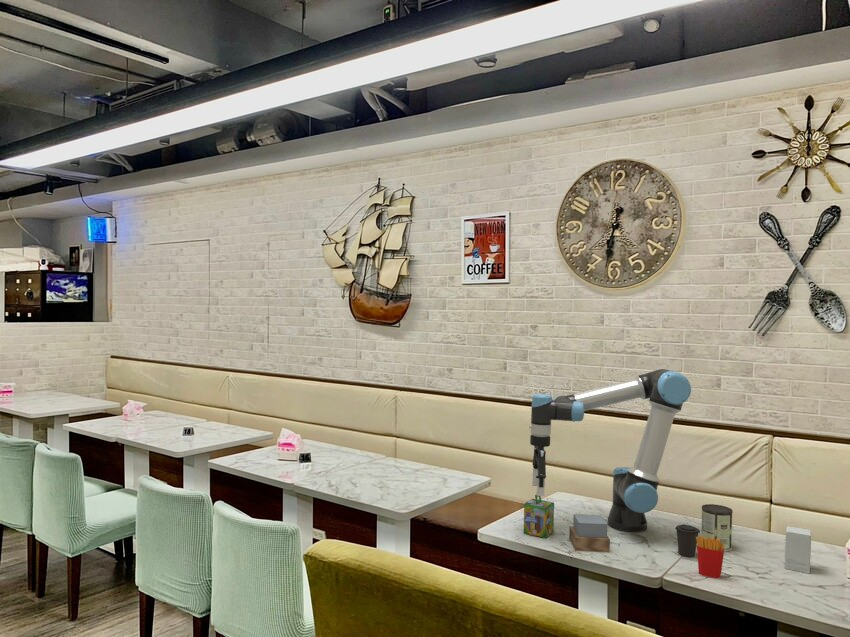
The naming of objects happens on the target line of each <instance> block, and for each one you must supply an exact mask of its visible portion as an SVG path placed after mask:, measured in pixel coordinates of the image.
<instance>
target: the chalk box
mask: <svg viewBox="0 0 850 637" xmlns="http://www.w3.org/2000/svg"><path fill="white" fill-rule="evenodd" d="M534 496H535V498H531V499H530V500H528V501H526V502H525V503H524V504H523V534H524V535H528V536H529V535H530V536H534V537H540V538H545V539H547V538H548V537H549V536H550V535H552V534H553V533H555V532H554V528H555V527H554V525H555V523H554V522H555V502H552V501H547V500H544V499H542V496H537V493H536V494H535V495H534Z"/></svg>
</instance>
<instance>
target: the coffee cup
mask: <svg viewBox="0 0 850 637" xmlns="http://www.w3.org/2000/svg"><path fill="white" fill-rule="evenodd" d="M674 529H675V530H676V540H677V550H678V551H677V552H678V555H679V556H680V557H683V558H687V559H693V558H695V557H696V554H697V540H696V537H698V538H699V533H701V530H700V529H699V528H698V527H695V526H694V525H693V526H692V525H689V524H685V523H684V524H678V525H676V527H675V528H674Z"/></svg>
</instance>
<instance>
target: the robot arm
mask: <svg viewBox="0 0 850 637" xmlns="http://www.w3.org/2000/svg"><path fill="white" fill-rule="evenodd" d="M691 392H692V386H691V383H690V381H689V380H688V378H687V377H686V376H685V375H683V374H682V373H680V372H678V371H674V370H670V369H667V368H666V369H665V368H662V369H661V368H660V369H655V370H653V371H650V372H646V373H643V374H639V375H636V376H635V378H633V379H630V380H626V381H621V382H618V383H613V384H610V385H605V386H601V387H597V388H593V389H592V388H591V389H590V390H584V391H581V392H576V393H573V394H567V395H557V396H556V397H555V398H554V399H553V396H552V395H551V394H548V393H547V394H545V393H537V394H533V396H532V399H531V400H532V401H531V409H530V410H531V415H530V416H531V418H530V425H529V429H530V434H531V435H530V436H529V437H530V438H529V443H530V445H531V446H533V447H534V450H533V458H532V487H536V494H537V496H541V497H544V496H545V485H546V478H547V474H546V473H547V472H546V471H547V470H546V453H547V452H546V450H545V448H546V447H550V446H551V436H550V435H552V434H551V431H552V421H565V422H574V423H575V422H582V421H583V420H584V416H585V411H590V410H593V409H598V408H602V407H606V406H611V405H615V404H619V403H623V402H628V401H632V400H635V399H642V400H647V399H648V402H649V404H650V406H651V407H650V411H649V415H648V417H647V421H646V424H645V428H644V430H643V434H642V437H641V440H640V444H639V447H638V451H637V454H636V457H635V461H634V464H633V466H632V467H625V466H624V467H623V466H622V467H621V466H619V467H615V468H614V469H613V474H612V477H613V478H612V479H613V480H612V504H611V507H610V511H609V512H608V513H609V514H608V516H607V524H608V526H609V527H610V528H613V529H614V530H619V531H622V532H631V533H638V532H645V531H647V530H648V520H647V517H646V514H645V513H649V512H652V510H653V509H655V508H656V506H657V504H658V501H659V495H658V492H657V490H658V487H659V484H660V479H659V477H658V472H659V469H660V465H661V462H662V458H663V454H664V452H665V449H666V446H667V443H668V438H669V434H670V432H671V430H672V425H673V422H674V420H675V417H676V416H675V415H676V414H678V413H679V412H681V411H682V408H683V404H684V403H685V402H687V401H688V399H689V398H690V396H691Z"/></svg>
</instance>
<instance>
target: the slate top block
mask: <svg viewBox="0 0 850 637" xmlns="http://www.w3.org/2000/svg"><path fill="white" fill-rule="evenodd" d="M572 518H573V522H572V523H573V526H572V527H573V528H574V530H575V532H576V533H577V535H578V537H591V538H607V536H608V526H609V525H608V522H607V521H606V520H605V519H604V518H603V516H602V515H601V514H582V513H579V514H578V513H574V514H573V517H572Z"/></svg>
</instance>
